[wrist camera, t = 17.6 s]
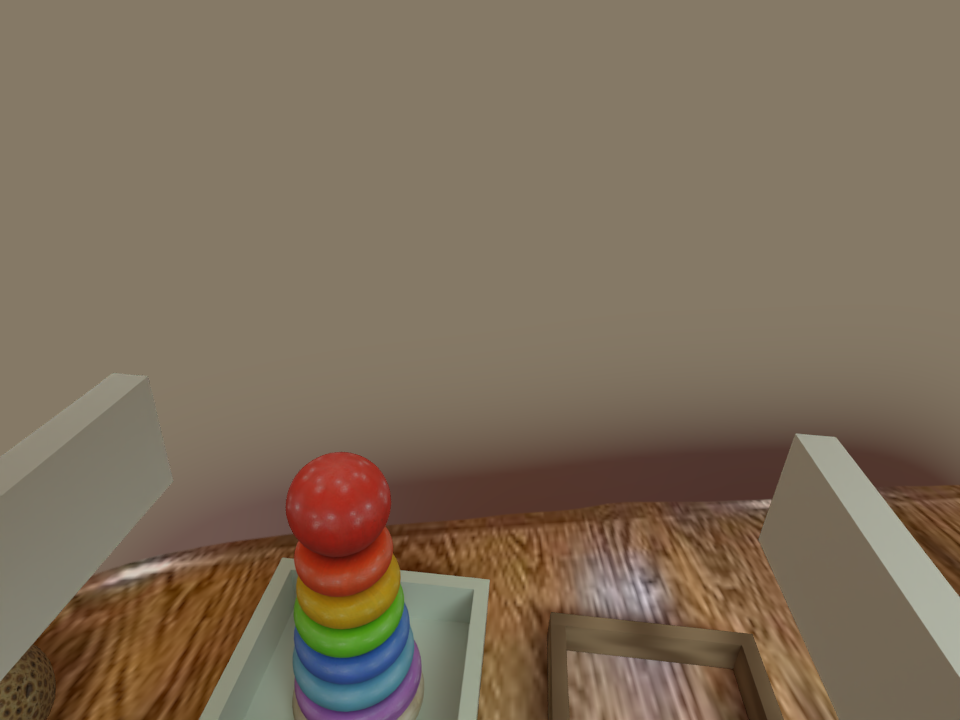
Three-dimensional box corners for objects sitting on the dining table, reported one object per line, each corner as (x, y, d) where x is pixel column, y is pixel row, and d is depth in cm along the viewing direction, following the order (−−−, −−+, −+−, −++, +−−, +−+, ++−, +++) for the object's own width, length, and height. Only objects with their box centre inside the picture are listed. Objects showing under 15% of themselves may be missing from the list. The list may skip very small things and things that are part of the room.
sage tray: (486, 623, 44) (489, 579, 42) (462, 869, 31) (466, 822, 29) (288, 601, 45) (282, 557, 43) (182, 831, 32) (166, 783, 30)
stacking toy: (316, 640, 41) (289, 409, 32) (431, 649, 41) (435, 419, 32) (274, 761, 34) (226, 507, 25) (413, 774, 34) (412, 521, 25)
